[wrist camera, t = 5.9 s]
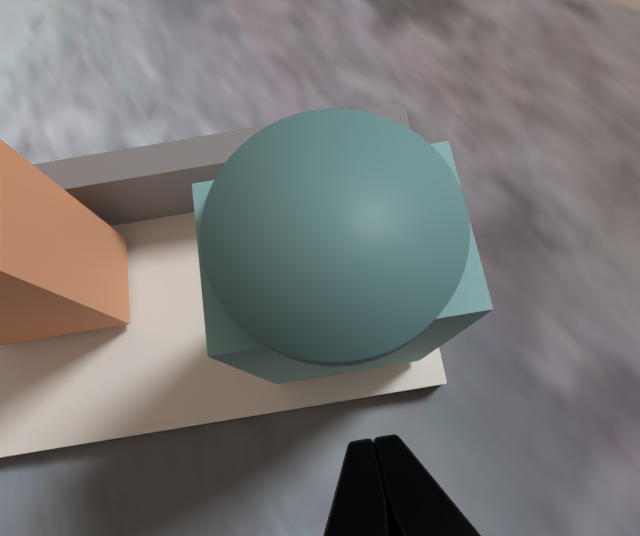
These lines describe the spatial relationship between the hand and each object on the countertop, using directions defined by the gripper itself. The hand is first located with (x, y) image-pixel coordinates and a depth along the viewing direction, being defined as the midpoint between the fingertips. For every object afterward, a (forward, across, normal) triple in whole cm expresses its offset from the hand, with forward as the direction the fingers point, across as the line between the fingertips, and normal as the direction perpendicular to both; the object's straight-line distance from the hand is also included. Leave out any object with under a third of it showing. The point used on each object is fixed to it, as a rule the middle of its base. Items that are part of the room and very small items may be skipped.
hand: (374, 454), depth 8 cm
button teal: (+7, 0, +2) cm, 7 cm away
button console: (+9, +5, +2) cm, 10 cm away
